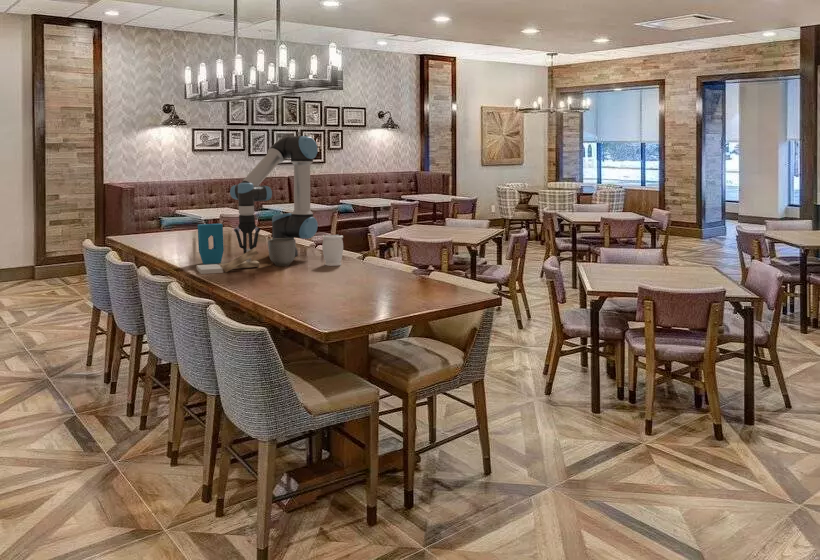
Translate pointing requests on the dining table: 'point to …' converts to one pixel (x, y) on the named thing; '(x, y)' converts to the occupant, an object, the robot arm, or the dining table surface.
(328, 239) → the jar
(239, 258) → the plank
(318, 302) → the dining table surface
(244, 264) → the plank
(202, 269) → the floor board
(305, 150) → the robot arm
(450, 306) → the dining table surface
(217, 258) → the block
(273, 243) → the planter
